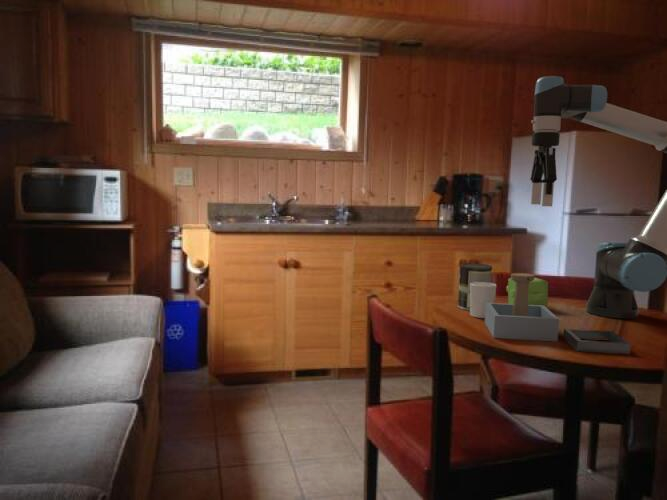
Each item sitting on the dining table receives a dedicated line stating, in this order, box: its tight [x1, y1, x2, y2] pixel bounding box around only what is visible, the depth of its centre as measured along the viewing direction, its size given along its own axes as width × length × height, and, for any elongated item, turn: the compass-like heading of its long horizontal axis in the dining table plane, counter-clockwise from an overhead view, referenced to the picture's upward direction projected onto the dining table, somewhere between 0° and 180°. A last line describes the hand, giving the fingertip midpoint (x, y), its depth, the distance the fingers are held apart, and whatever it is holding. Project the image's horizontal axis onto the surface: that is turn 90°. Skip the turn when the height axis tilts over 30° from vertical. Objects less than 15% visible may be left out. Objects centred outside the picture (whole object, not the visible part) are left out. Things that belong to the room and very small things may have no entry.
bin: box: [484, 302, 560, 342], centre depth 157 cm, size 16×16×6 cm
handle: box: [510, 272, 536, 316], centre depth 156 cm, size 5×6×15 cm
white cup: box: [469, 282, 497, 319], centre depth 175 cm, size 8×8×10 cm
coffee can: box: [457, 262, 493, 312], centre depth 185 cm, size 10×10×14 cm
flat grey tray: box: [562, 328, 632, 355], centre depth 146 cm, size 12×12×2 cm
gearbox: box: [505, 277, 549, 309], centre depth 191 cm, size 18×10×10 cm, turn 14°
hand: (541, 205), depth 167 cm, fingers open, 13 cm apart
